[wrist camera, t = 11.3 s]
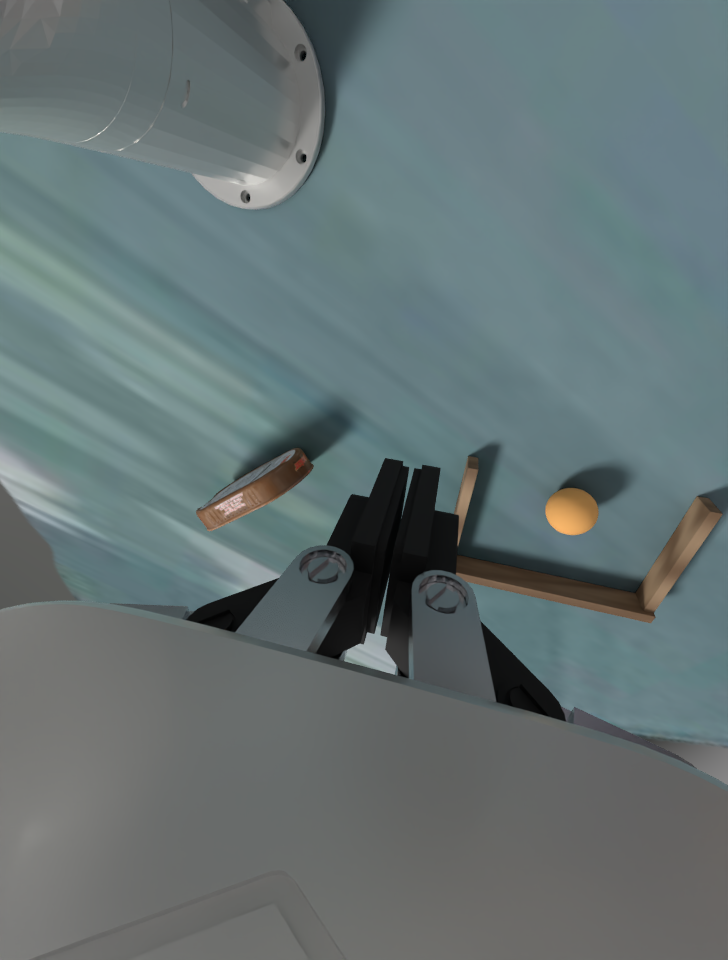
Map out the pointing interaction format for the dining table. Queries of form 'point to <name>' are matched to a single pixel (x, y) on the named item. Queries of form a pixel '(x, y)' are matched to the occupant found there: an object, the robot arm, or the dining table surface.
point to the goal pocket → (586, 594)
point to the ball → (572, 511)
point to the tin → (255, 489)
